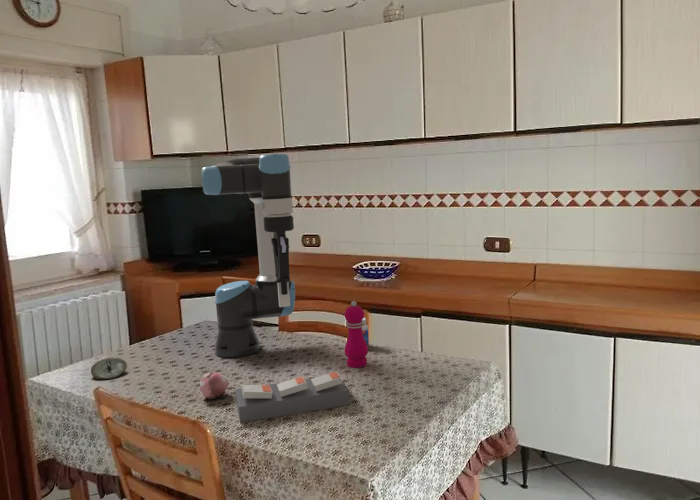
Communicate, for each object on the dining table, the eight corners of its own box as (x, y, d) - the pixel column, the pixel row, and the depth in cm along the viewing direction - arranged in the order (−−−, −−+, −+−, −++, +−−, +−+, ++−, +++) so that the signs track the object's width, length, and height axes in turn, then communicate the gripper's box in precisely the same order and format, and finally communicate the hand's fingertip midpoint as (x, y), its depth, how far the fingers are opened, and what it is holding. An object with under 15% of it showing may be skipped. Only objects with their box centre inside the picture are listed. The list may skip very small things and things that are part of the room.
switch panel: (236, 404, 155) (234, 388, 154) (338, 388, 162) (337, 373, 161) (239, 422, 143) (238, 406, 143) (350, 404, 150) (349, 389, 150)
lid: (127, 367, 189) (125, 352, 189) (128, 376, 180) (126, 361, 180) (92, 372, 186) (90, 357, 185) (90, 383, 177) (88, 367, 176)
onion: (197, 402, 160) (192, 375, 161) (221, 396, 165) (217, 370, 166) (211, 400, 154) (207, 372, 155) (236, 393, 160) (232, 367, 161)
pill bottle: (360, 350, 193) (358, 322, 192) (349, 347, 197) (348, 319, 196) (372, 346, 197) (371, 318, 195) (362, 343, 201) (360, 315, 199)
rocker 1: (241, 390, 149) (242, 384, 149) (269, 391, 151) (269, 384, 151) (243, 398, 144) (244, 391, 144) (271, 398, 146) (272, 391, 146)
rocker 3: (312, 384, 154) (310, 378, 153) (337, 376, 155) (335, 370, 155) (316, 391, 149) (314, 385, 149) (342, 383, 151) (340, 376, 150)
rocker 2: (278, 389, 152) (276, 383, 151) (304, 381, 153) (302, 375, 153) (281, 397, 147) (279, 390, 146) (307, 388, 148) (306, 382, 148)
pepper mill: (355, 359, 185) (351, 297, 182) (373, 363, 181) (370, 299, 178) (340, 365, 180) (336, 302, 177) (358, 370, 175) (355, 305, 172)
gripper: (260, 215, 154) (267, 302, 157) (266, 218, 142) (273, 313, 145) (288, 213, 156) (294, 299, 159) (297, 215, 143) (303, 309, 147)
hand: (284, 306), depth 152 cm, fingers closed
